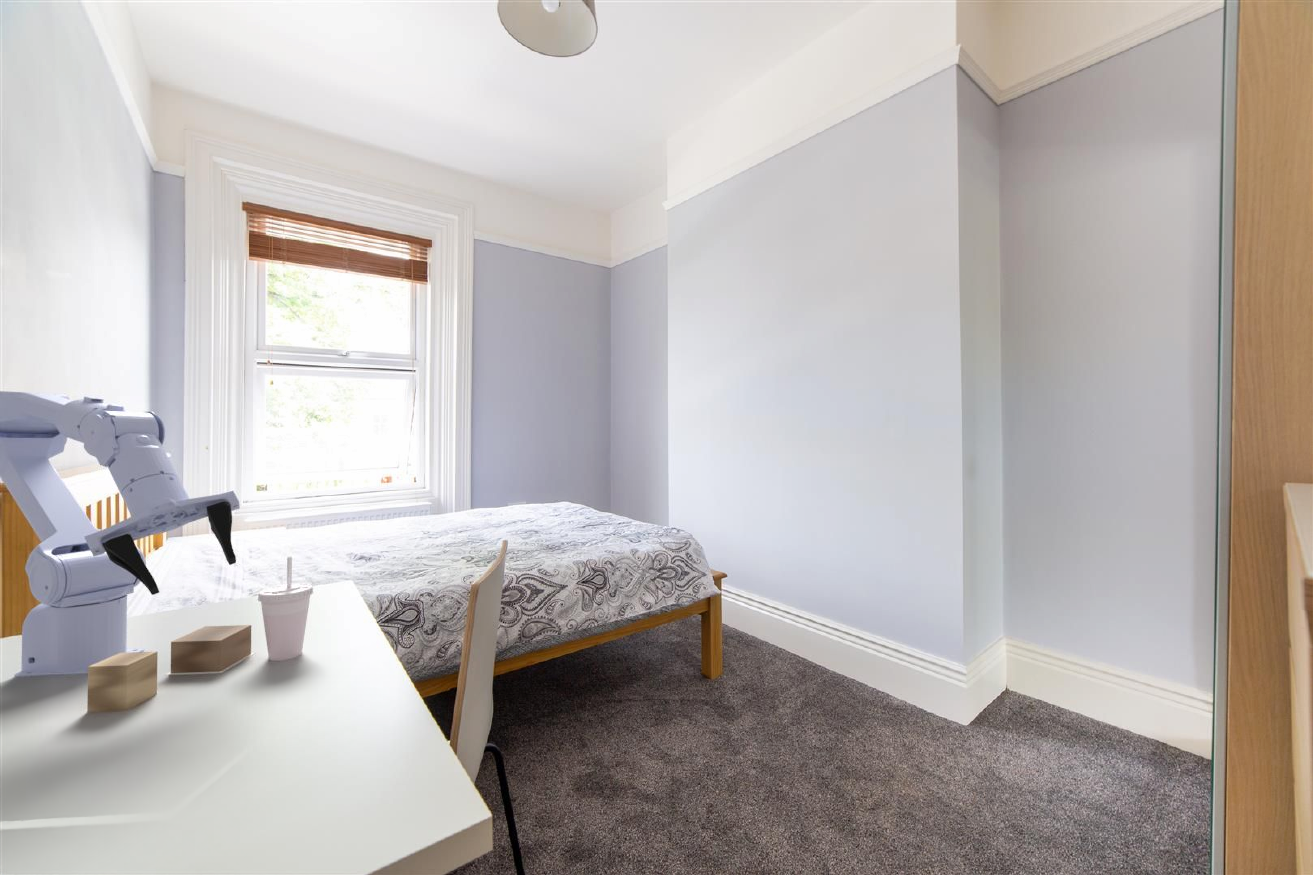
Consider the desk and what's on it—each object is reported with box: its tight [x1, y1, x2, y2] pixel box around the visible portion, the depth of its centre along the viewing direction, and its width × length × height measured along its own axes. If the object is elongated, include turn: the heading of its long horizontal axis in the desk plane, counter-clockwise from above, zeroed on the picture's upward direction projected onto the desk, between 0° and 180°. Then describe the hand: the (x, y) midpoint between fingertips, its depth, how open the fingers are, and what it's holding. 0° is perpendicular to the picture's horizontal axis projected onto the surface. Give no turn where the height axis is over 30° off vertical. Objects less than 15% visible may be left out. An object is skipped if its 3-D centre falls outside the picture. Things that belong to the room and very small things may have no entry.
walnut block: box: [170, 624, 252, 673], centre depth 73 cm, size 6×6×4 cm
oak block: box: [86, 651, 158, 713], centre depth 62 cm, size 4×4×5 cm
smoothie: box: [257, 556, 314, 662], centre depth 75 cm, size 6×6×14 cm
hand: (195, 575), depth 66 cm, fingers open, 7 cm apart
